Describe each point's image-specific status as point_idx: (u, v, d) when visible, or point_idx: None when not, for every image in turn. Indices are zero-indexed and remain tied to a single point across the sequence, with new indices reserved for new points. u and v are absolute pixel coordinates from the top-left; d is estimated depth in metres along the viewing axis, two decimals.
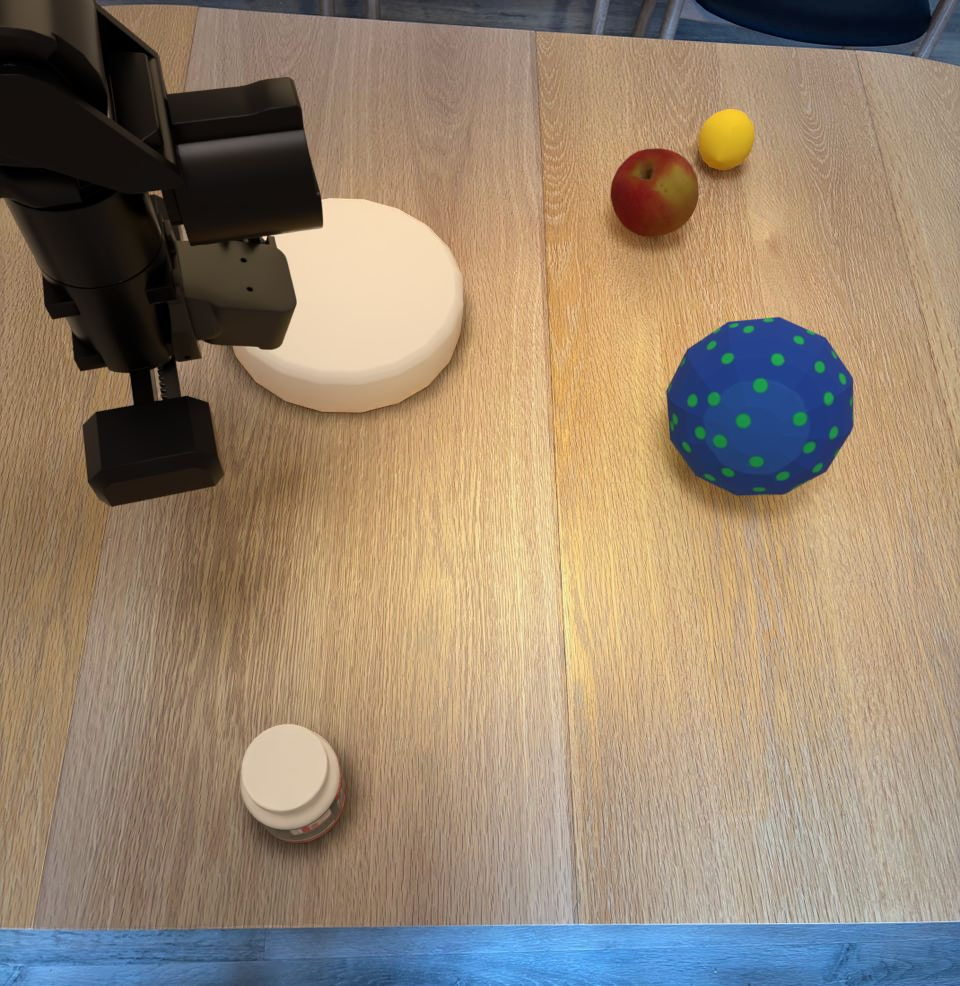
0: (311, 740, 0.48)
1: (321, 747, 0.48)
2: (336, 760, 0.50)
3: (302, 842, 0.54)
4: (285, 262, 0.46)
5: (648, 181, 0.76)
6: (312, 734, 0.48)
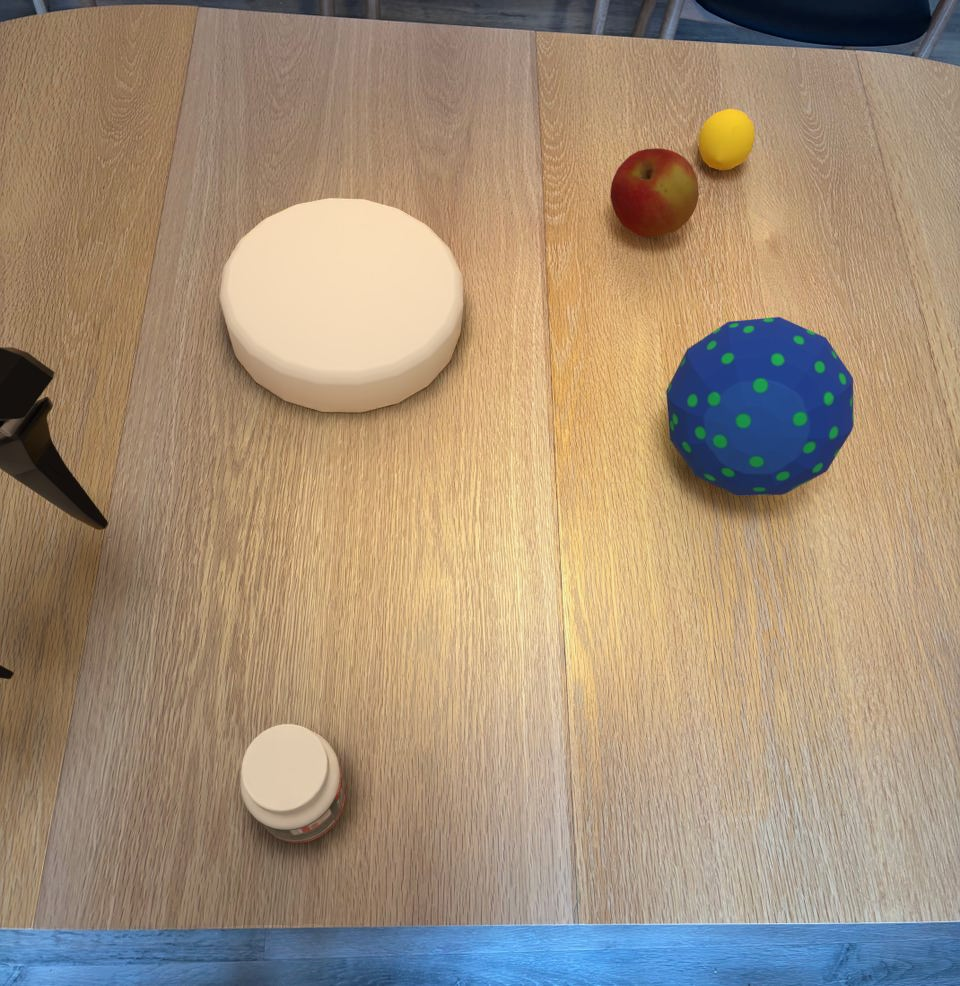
0: (311, 740, 0.48)
1: (321, 747, 0.48)
2: (336, 760, 0.50)
3: (302, 842, 0.54)
4: None
5: (648, 181, 0.76)
6: (312, 734, 0.48)
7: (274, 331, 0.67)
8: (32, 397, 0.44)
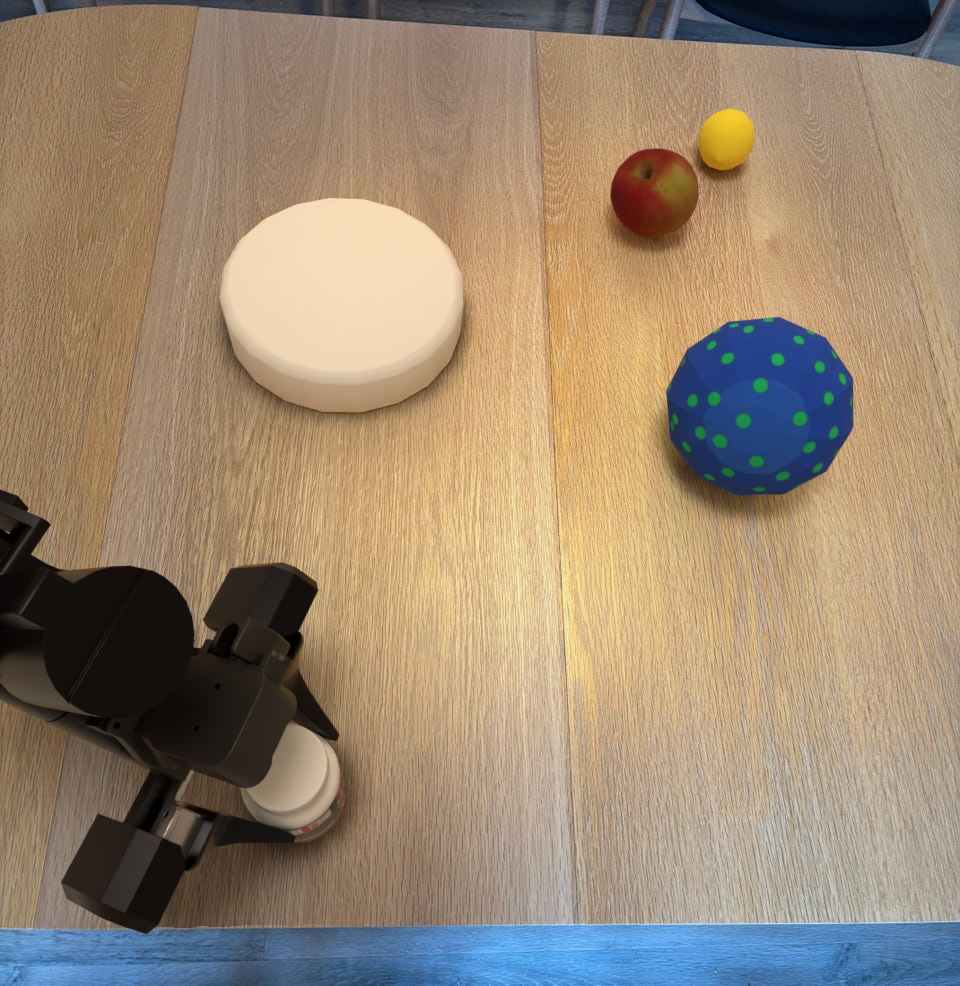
0: (311, 740, 0.48)
1: (321, 747, 0.47)
2: (336, 760, 0.50)
3: (302, 842, 0.54)
4: (257, 693, 0.38)
5: (648, 181, 0.76)
6: (312, 734, 0.48)
7: (274, 331, 0.67)
8: (303, 612, 0.47)
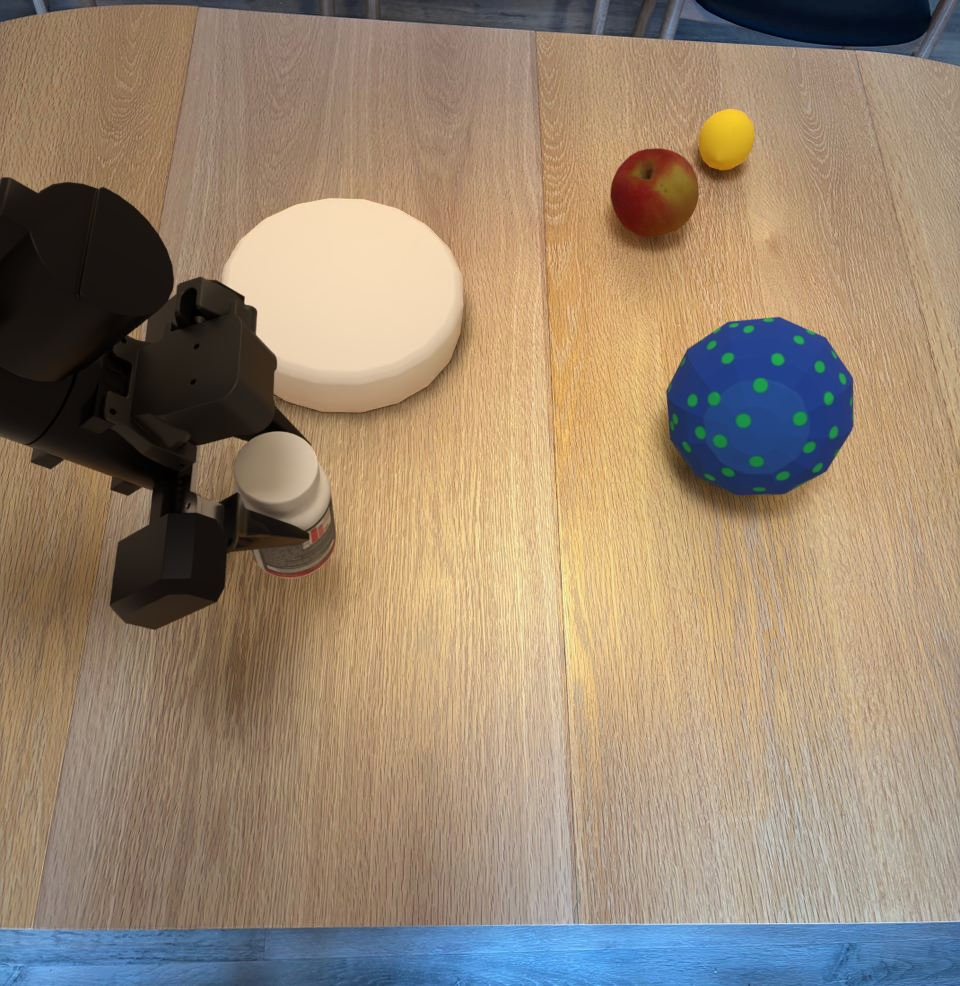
0: (291, 438, 0.49)
1: (303, 441, 0.49)
2: (318, 464, 0.51)
3: (311, 572, 0.55)
4: (239, 331, 0.39)
5: (648, 181, 0.76)
6: (290, 434, 0.49)
7: (274, 331, 0.67)
8: None
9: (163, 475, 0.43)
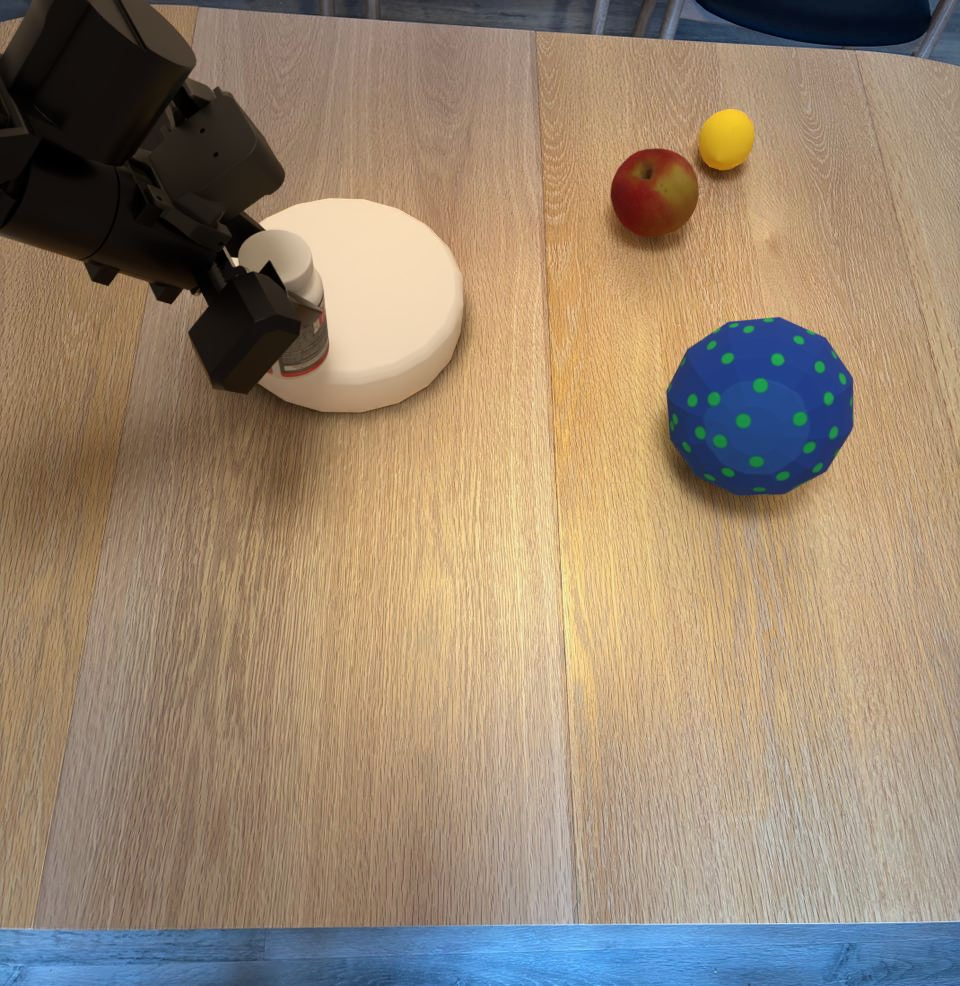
0: (275, 233, 0.56)
1: (286, 231, 0.56)
2: None
3: (320, 365, 0.63)
4: (234, 104, 0.46)
5: (648, 181, 0.76)
6: (272, 230, 0.56)
7: None
8: None
9: (204, 263, 0.49)
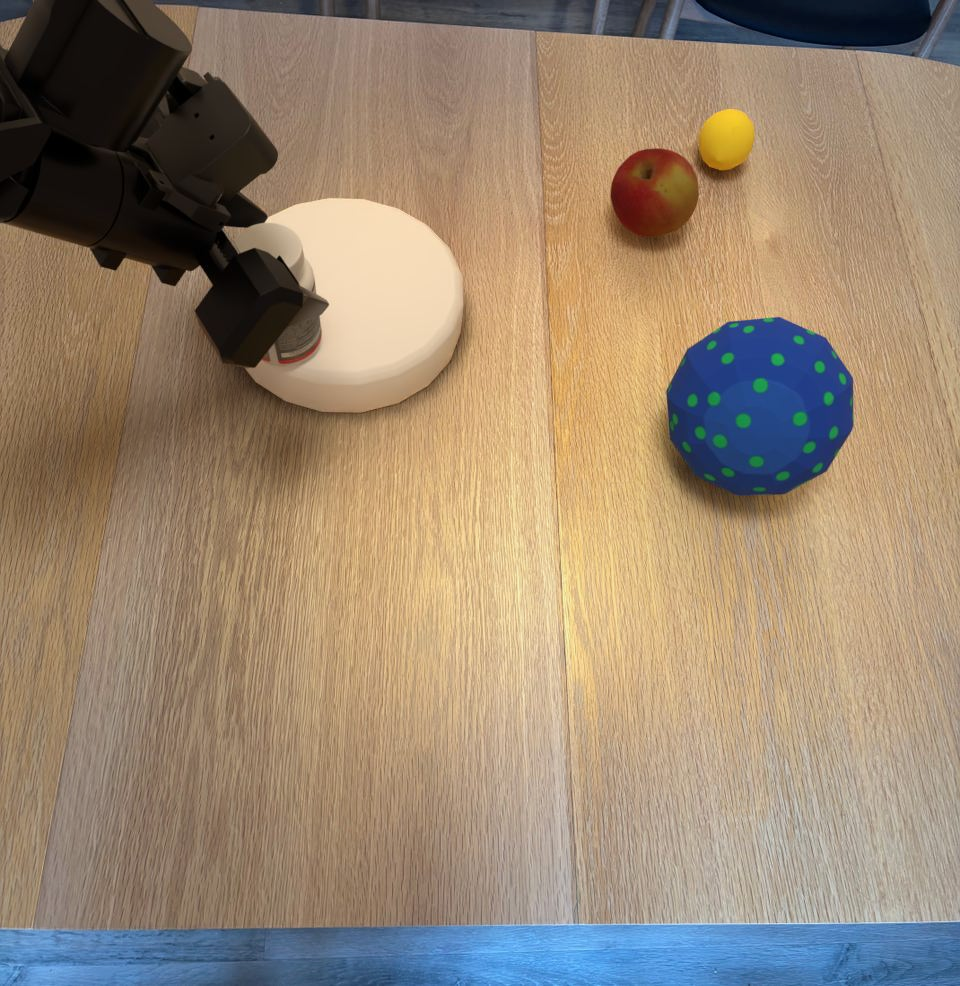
0: (266, 226, 0.59)
1: (276, 224, 0.59)
2: None
3: (314, 351, 0.66)
4: (226, 88, 0.48)
5: (648, 181, 0.76)
6: (262, 223, 0.59)
7: None
8: None
9: (205, 244, 0.51)
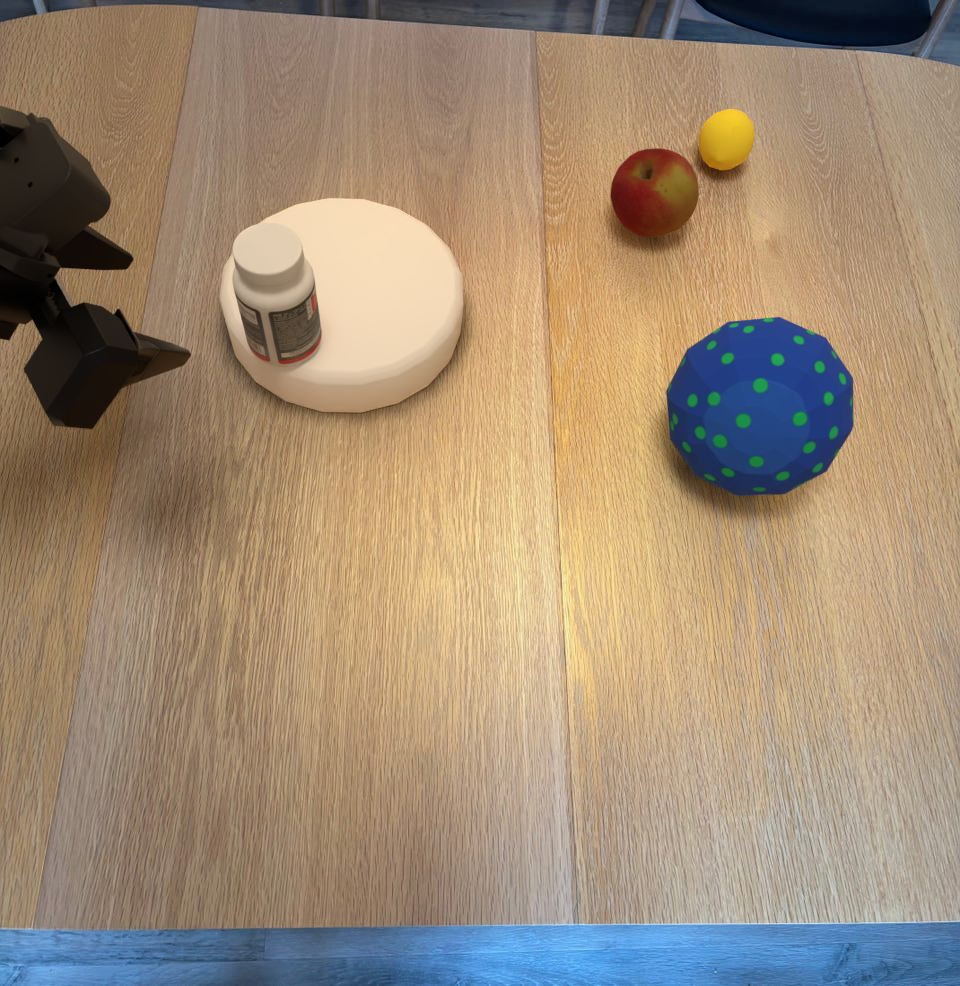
0: (266, 226, 0.59)
1: (276, 224, 0.59)
2: None
3: (314, 351, 0.66)
4: (48, 130, 0.44)
5: (648, 181, 0.76)
6: (263, 223, 0.59)
7: None
8: None
9: (35, 296, 0.47)
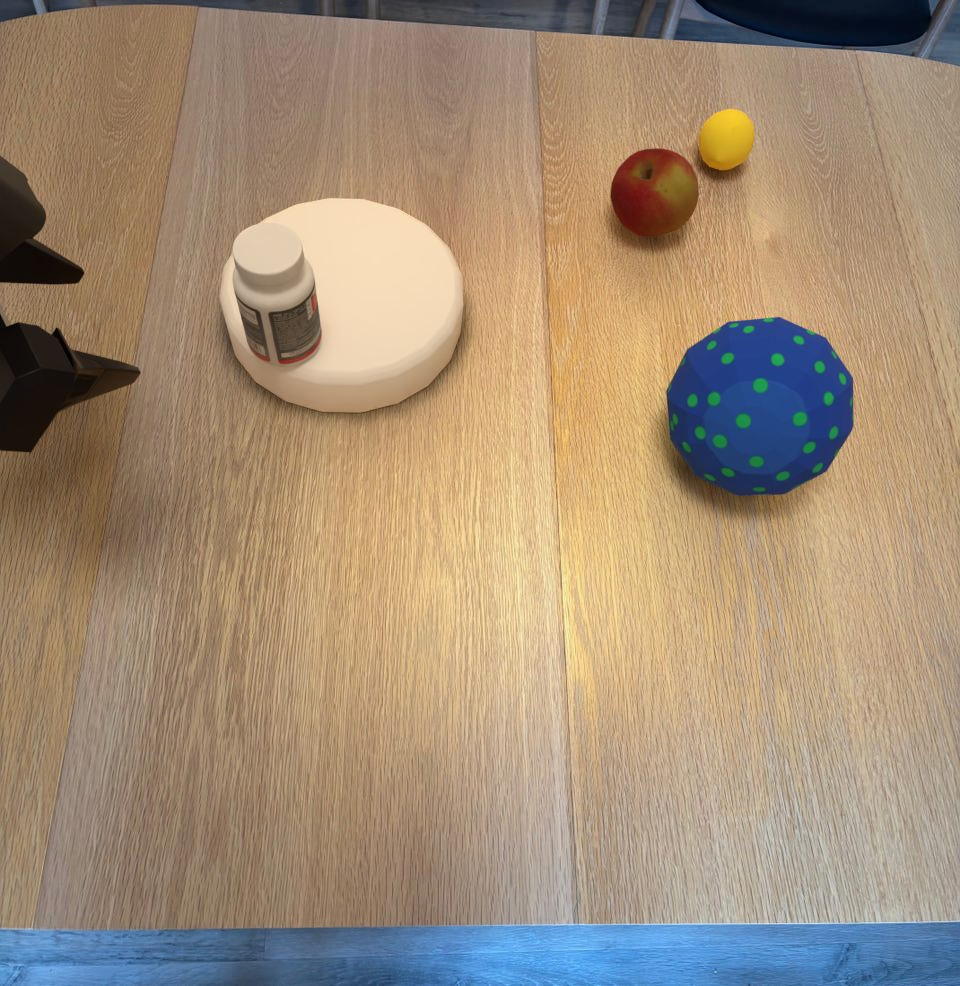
0: (266, 226, 0.59)
1: (276, 224, 0.59)
2: None
3: (314, 351, 0.66)
4: None
5: (648, 181, 0.76)
6: (263, 223, 0.59)
7: None
8: None
9: None
